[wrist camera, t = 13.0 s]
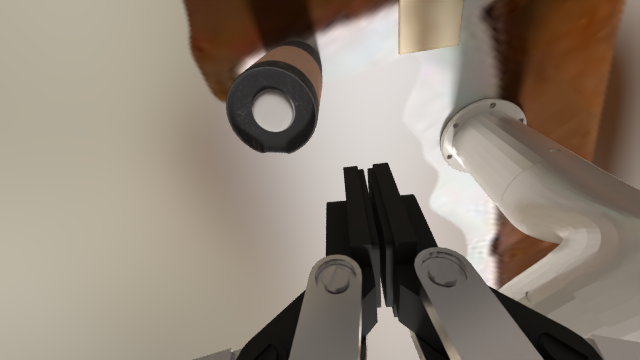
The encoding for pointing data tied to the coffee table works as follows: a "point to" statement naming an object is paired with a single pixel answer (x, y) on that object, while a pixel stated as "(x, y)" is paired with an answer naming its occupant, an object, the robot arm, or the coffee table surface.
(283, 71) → the travel mug
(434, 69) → the coffee table surface
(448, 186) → the coffee table surface
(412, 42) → the board
